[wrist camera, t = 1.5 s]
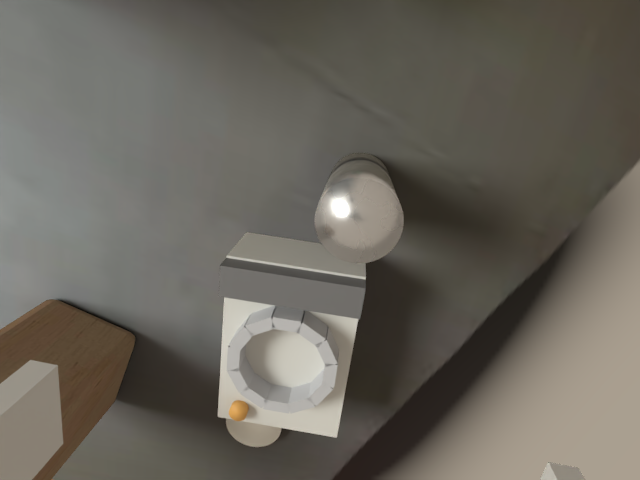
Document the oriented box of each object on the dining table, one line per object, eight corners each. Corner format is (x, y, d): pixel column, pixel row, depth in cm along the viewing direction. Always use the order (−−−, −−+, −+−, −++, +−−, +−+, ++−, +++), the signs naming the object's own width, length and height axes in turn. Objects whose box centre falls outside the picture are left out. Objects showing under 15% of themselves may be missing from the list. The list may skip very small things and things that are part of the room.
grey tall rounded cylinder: (333, 148, 35) (320, 171, 23) (395, 157, 34) (412, 185, 23) (325, 207, 36) (309, 256, 25) (383, 216, 36) (394, 269, 25)
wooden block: (141, 332, 42) (-33, 517, 24) (117, 401, 46) (-53, 612, 27) (51, 292, 42) (-202, 449, 23) (33, 365, 45) (-201, 554, 26)
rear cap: (231, 387, 44) (227, 397, 43) (286, 397, 44) (284, 406, 42) (228, 431, 46) (224, 441, 45) (281, 440, 46) (278, 451, 44)
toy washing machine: (246, 232, 38) (218, 265, 30) (365, 250, 37) (366, 288, 30) (236, 375, 43) (210, 433, 36) (339, 392, 43) (335, 455, 35)
